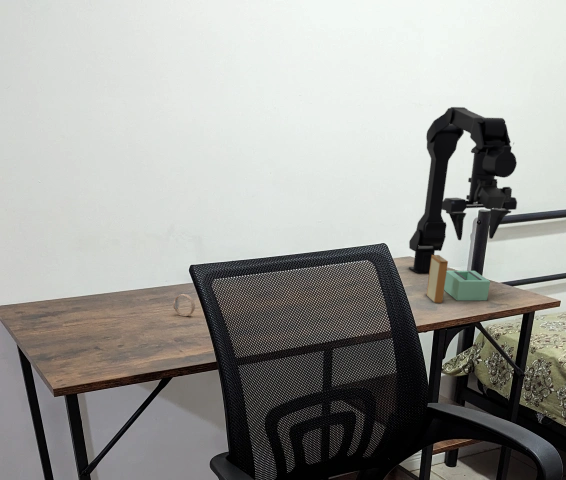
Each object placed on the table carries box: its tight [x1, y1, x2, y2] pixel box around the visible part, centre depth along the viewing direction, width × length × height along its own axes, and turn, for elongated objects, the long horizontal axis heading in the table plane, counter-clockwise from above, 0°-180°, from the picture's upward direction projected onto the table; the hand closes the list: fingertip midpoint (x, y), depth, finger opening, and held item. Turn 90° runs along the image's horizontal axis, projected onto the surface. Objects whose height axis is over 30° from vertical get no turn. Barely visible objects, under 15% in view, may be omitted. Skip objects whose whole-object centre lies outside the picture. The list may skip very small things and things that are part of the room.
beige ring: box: [172, 293, 196, 317], centre depth 169 cm, size 3×5×5 cm, turn 70°
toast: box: [426, 254, 449, 304], centre depth 188 cm, size 8×2×10 cm, turn 7°
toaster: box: [444, 270, 491, 301], centre depth 194 cm, size 12×10×5 cm
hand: (475, 239), depth 188 cm, fingers open, 9 cm apart
